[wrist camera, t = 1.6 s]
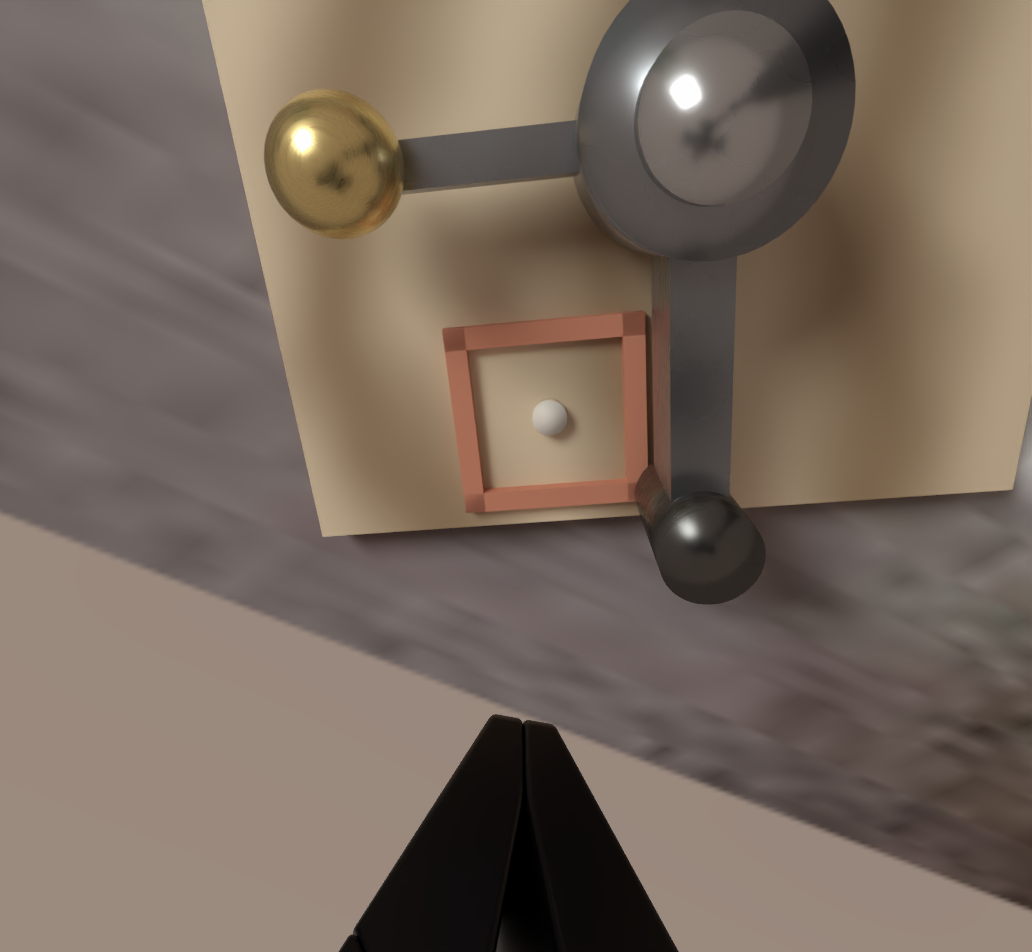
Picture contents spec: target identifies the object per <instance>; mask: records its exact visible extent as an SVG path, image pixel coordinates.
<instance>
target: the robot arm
mask: <svg viewBox="0 0 1032 952" xmlns="http://www.w3.org/2000/svg"><path fill="white" fill-rule="evenodd" d="M339 952H678V950H677V948H676V946H675V944H674V943H673V941H672V939H671V937H670V935H669V933H668V932H667V930H666V928H665V926H664V924H663V922H662V921H661V919H660V917H659V915H658V913H657V912H656V910H655V908H654V906H653V904H652V902H651V900H650V899H649V897H648V895H647V893H646V891H645V890H644V888H643V886H642V884H641V882H640V880H639V879H638V877H637V875H636V873H635V871H634V870H633V868H632V866H631V864H630V862H629V860H628V858H627V857H626V855H625V853H624V851H623V849H622V847H621V846H620V844H619V842H618V840H617V838H616V836H615V835H614V833H613V831H612V829H611V827H610V825H609V824H608V822H607V820H606V818H605V816H604V815H603V813H602V811H601V809H600V807H599V805H598V804H597V802H596V800H595V798H594V796H593V794H592V793H591V791H590V789H589V787H588V785H587V784H586V782H585V780H584V778H583V776H582V774H581V773H580V771H579V769H578V767H577V765H576V763H575V762H574V760H573V758H572V756H571V754H570V752H569V751H568V749H567V747H566V745H565V743H564V741H563V740H562V738H561V736H560V734H559V732H558V730H557V729H556V727H555V726H553V725H552V724H548V723H542V722H537V721H531V720H526V721H525V722H524V723H523V724H522V721H521V720H520V719H519V718H514V717H508V716H503V715H497V714H495V715H492V716H491V717H490V718H489V719H488V721H487V723H486V724H485V726H484V727H483V729H482V730H481V732H480V733H479V735H478V737H477V738H476V740H475V741H474V743H473V744H472V746H471V748H470V749H469V751H468V752H467V754H466V755H465V757H464V758H463V760H462V761H461V763H460V765H459V766H458V768H457V769H456V771H455V772H454V774H453V775H452V777H451V779H450V780H449V782H448V783H447V785H446V786H445V788H444V789H443V791H442V793H441V794H440V796H439V797H438V799H437V800H436V802H435V803H434V805H433V807H432V808H431V810H430V811H429V813H428V814H427V816H426V817H425V819H424V821H423V822H422V824H421V825H420V827H419V828H418V830H417V831H416V833H415V835H414V836H413V838H412V839H411V841H410V842H409V844H408V845H407V847H406V849H405V850H404V852H403V853H402V855H401V856H400V858H399V859H398V861H397V863H396V864H395V866H394V867H393V869H392V870H391V872H390V873H389V875H388V877H387V878H386V880H385V881H384V883H383V885H382V886H381V887H380V889H379V891H378V892H377V894H376V896H375V897H374V898H373V900H372V901H371V903H370V905H369V906H368V908H367V909H366V911H365V912H364V914H363V915H362V917H361V919H360V920H359V922H358V923H357V925H356V926H355V928H354V931H353V935H350V936H349V937H348V938H347V940H346V941H345V943H344V944H343V946H342V947H341V949H340V951H339Z"/></svg>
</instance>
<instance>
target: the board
mask: <svg viewBox="0 0 1032 952" xmlns="http://www.w3.org/2000/svg"><path fill="white" fill-rule="evenodd" d="M828 1H829V2H830V3H831V5H832V6H833V7H834V9H835V11H836V13H837V15H838V17H839V19H840V20H841V22H842V24H843V27H844V30H845V32H846V35H847V38H848V40H849V43H850V48H851V52H852V57H853V61H854V70H855V80H856V91H855V108H854V115H853V122H852V126H851V130H850V134H849V138H848V142H847V145H846V147H845V150H844V153H843V155H842V158H841V160H840V163H839V165H838V167H837V169H836V171H835V173H834V175H833V177H832V179H831V180H830V182H829V184H828V185H827V187H826V188H825V190H824V191H823V193H822V194H821V196H820V197H819V198H818V200H817V201H816V202H815V203H814V204H813V206H812V207H811V208H810V209H809V210H808V212H807V213H806V214H805V215H804V216H803V217H802V218H800V219H799V220H798V221H797V222H796V223H795V224H794V225H793V226H792V227H791V228H789V229H788V230H787V231H785V232H784V233H783V234H781V235H780V236H779V237H777V238H776V239H774V240H772V241H771V242H769V243H767V244H766V245H764V246H762V247H760V248H758V249H755V250H753V251H751V252H748V253H746V254H743V255H739V256H737V274H736V306H735V339H734V371H733V403H732V435H731V467H730V494H731V495H732V497H733V498H734V499H735V501H736V502H737V503H738V505H739V506H740V507H741V508H752V507H767V506H781V505H796V504H811V503H825V502H840V501H855V500H869V499H884V498H899V497H913V496H928V495H943V494H957V493H972V492H986V491H1001V490H1013V485H1014V480H1015V475H1016V470H1017V465H1018V460H1019V456H1020V451H1021V446H1022V441H1023V436H1024V431H1025V426H1026V421H1027V416H1028V412H1029V407H1030V402H1031V397H1032V0H828ZM202 2H203V6H204V11H205V15H206V20H207V24H208V28H209V33H210V37H211V42H212V46H213V51H214V55H215V60H216V64H217V69H218V73H219V77H220V82H221V86H222V91H223V95H224V100H225V104H226V109H227V113H228V117H229V122H230V126H231V131H232V135H233V140H234V144H235V149H236V153H237V158H238V162H239V166H240V171H241V175H242V180H243V184H244V189H245V193H246V198H247V202H248V206H249V211H250V215H251V220H252V224H253V229H254V233H255V238H256V242H257V247H258V251H259V255H260V260H261V264H262V269H263V273H264V278H265V282H266V287H267V291H268V295H269V300H270V304H271V309H272V313H273V318H274V322H275V327H276V331H277V336H278V340H279V344H280V349H281V353H282V358H283V362H284V367H285V371H286V376H287V380H288V384H289V389H290V393H291V398H292V402H293V407H294V411H295V416H296V420H297V425H298V429H299V433H300V438H301V442H302V447H303V451H304V456H305V460H306V465H307V469H308V473H309V478H310V482H311V487H312V491H313V496H314V500H315V505H316V509H317V514H318V518H319V522H320V527H321V531H322V536H323V537H327V536H342V535H357V534H371V533H386V532H401V531H415V530H430V529H445V528H459V527H474V526H489V525H503V524H518V523H532V522H547V521H562V520H576V519H591V518H606V517H620V516H635V515H640V514H639V511H638V508H637V505H636V501H633V502H619V503H605V504H590V505H576V506H562V507H548V508H533V509H519V510H505V511H490V512H476V513H466V508H465V501H464V493H463V486H462V478H461V471H460V463H459V455H458V448H457V440H456V433H455V425H454V418H453V410H452V403H451V395H450V387H449V380H448V372H447V365H446V357H445V350H444V342H443V335H442V329H444V328H450V327H461V326H472V325H483V324H494V323H505V322H517V321H528V320H539V319H550V318H561V317H572V316H583V315H594V314H605V313H616V312H627V311H639V310H643V311H645V343H646V396H647V449H648V466H649V465H650V464H651V463H653V462H654V428H653V362H652V296H651V255H647V254H643V253H639V252H636V251H633V250H631V249H628V248H626V247H624V246H622V245H620V244H619V243H617V242H615V241H614V240H612V239H611V238H610V237H609V236H607V235H606V234H605V233H604V232H603V231H602V230H601V229H600V228H599V227H598V226H597V225H596V224H595V223H594V221H593V220H592V219H591V217H590V216H589V214H588V213H587V212H586V210H585V208H584V206H583V204H582V202H581V200H580V198H579V195H578V192H577V190H576V187H575V183H574V179H573V177H566V178H557V179H547V180H538V181H528V182H519V183H509V184H500V185H490V186H481V187H471V188H462V189H452V190H443V191H433V192H424V193H414V194H405V195H401V198H400V201H399V203H398V205H397V207H396V209H395V210H394V212H393V214H392V215H391V216H390V218H389V219H388V220H387V221H386V222H385V223H384V224H383V225H382V226H381V227H379V228H378V229H377V230H375V231H373V232H371V233H369V234H367V235H365V236H362V237H359V238H354V239H342V240H340V239H332V238H327V237H324V236H320V235H318V234H315V233H313V232H311V231H309V230H307V229H305V228H304V227H303V226H301V225H300V224H298V223H297V222H296V221H295V220H293V219H292V218H291V217H290V216H289V215H288V214H287V213H286V211H285V210H284V209H283V208H282V207H281V205H280V204H279V202H278V201H277V199H276V197H275V195H274V193H273V191H272V189H271V187H270V184H269V182H268V179H267V175H266V171H265V165H264V144H265V139H266V134H267V131H268V129H269V126H270V124H271V122H272V120H273V118H274V116H275V115H276V114H277V112H278V111H279V110H280V109H281V107H282V106H283V105H284V104H286V103H287V102H288V101H289V100H291V99H292V98H293V97H295V96H297V95H299V94H301V93H304V92H306V91H309V90H314V89H338V90H342V91H346V92H349V93H351V94H353V95H356V96H358V97H360V98H361V99H363V100H365V101H366V102H368V103H369V104H370V105H372V106H373V107H374V108H375V109H376V110H377V111H378V112H379V113H380V114H381V115H382V116H383V117H384V118H385V120H386V121H387V122H388V123H389V125H390V126H391V128H392V130H393V131H394V133H395V135H396V137H397V139H398V140H402V139H411V138H420V137H429V136H438V135H447V134H456V133H465V132H474V131H482V130H491V129H500V128H509V127H518V126H527V125H536V124H545V123H554V122H563V121H572V120H575V116H576V112H577V109H578V105H579V102H580V98H581V95H582V91H583V88H584V85H585V81H586V78H587V74H588V71H589V68H590V66H591V63H592V60H593V57H594V55H595V52H596V50H597V48H598V46H599V44H600V42H601V40H602V38H603V36H604V34H605V33H606V31H607V30H608V28H609V27H610V25H611V24H612V22H613V21H614V19H615V17H616V16H617V15H618V14H619V12H620V11H621V10H622V9H623V8H624V6H625V5H626V4H627V3H628V2H629V0H202ZM468 353H469V362H470V370H471V378H472V387H473V395H474V404H475V412H476V420H477V429H478V437H479V446H480V454H481V462H482V471H483V479H484V488H485V489H486V488H500V487H514V486H528V485H542V484H555V483H569V482H583V481H597V480H611V479H624V478H626V465H625V434H624V404H623V373H622V342H621V337H610V338H599V339H588V340H576V341H565V342H553V343H542V344H531V345H519V346H508V347H496V348H485V349H473V350H468ZM544 399H555V400H558V401H559V402H561V403H562V404H563V405H564V407H565V409H566V412H567V424H566V426H565V428H564V429H563V430H562V431H561V432H560V433H558V434H556V435H552V436H547V435H543V434H541V433H539V432H538V431H537V430H536V429H535V427H534V425H533V422H532V414H533V410H534V407H535V406H536V404H537V403H539V402H540V401H542V400H544Z"/></svg>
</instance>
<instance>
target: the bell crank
mask: <svg viewBox="0 0 1032 952" xmlns="http://www.w3.org/2000/svg"><path fill="white" fill-rule="evenodd" d="M855 91H856V80H855V70H854V61H853V57H852V52H851V48H850V43H849V40H848V38H847V35H846V32H845V30H844V27H843V24H842V22H841V20H840V19H839V17H838V15H837V13H836V11H835V9H834V7H833V6H832V5H831V3H830V2H829V1H828V0H629V2H628V3H627V4H626V5H625V6H624V8H623V9H622V10H621V11H620V12H619V14H618V15H617V16H616V17H615V19H614V21H613V22H612V24H611V25H610V27H609V28H608V30H607V31H606V33H605V34H604V36H603V38H602V40H601V42H600V44H599V46H598V48H597V50H596V52H595V55H594V57H593V60H592V63H591V66H590V68H589V71H588V74H587V78H586V81H585V85H584V88H583V91H582V95H581V98H580V102H579V105H578V109H577V112H576V116H575V120H572V121H563V122H554V123H545V124H536V125H527V126H518V127H509V128H500V129H491V130H482V131H474V132H465V133H456V134H447V135H438V136H429V137H420V138H411V139H402V140H398V139H397V137H396V135H395V133H394V131H393V130H392V128H391V126H390V125H389V123H388V122H387V121H386V120H385V118H384V117H383V116H382V115H381V114H380V113H379V112H378V111H377V110H376V109H375V108H374V107H373V106H372V105H370V104H369V103H368V102H366V101H365V100H363V99H361V98H360V97H358V96H356V95H353V94H351V93H349V92H346V91H342V90H338V89H314V90H309V91H306V92H304V93H301V94H299V95H297V96H295V97H293V98H292V99H291V100H289V101H288V102H287V103H286V104H284V105H283V106H282V107H281V109H280V110H279V111H278V112H277V114H276V115H275V116H274V118H273V120H272V122H271V124H270V126H269V129H268V131H267V134H266V139H265V144H264V165H265V171H266V175H267V179H268V182H269V184H270V187H271V189H272V191H273V193H274V195H275V197H276V199H277V201H278V202H279V204H280V205H281V207H282V208H283V209H284V210H285V211H286V213H287V214H288V215H289V216H290V217H291V218H292V219H293V220H295V221H296V222H297V223H298V224H300V225H301V226H303V227H304V228H305V229H307V230H309V231H311V232H313V233H315V234H318V235H320V236H324V237H327V238H332V239H340V240H342V239H354V238H359V237H362V236H365V235H367V234H369V233H371V232H373V231H375V230H377V229H378V228H379V227H381V226H382V225H383V224H384V223H385V222H386V221H387V220H388V219H389V218H390V216H391V215H392V214H393V212H394V210H395V209H396V207H397V205H398V203H399V201H400V198H401V195H405V194H414V193H424V192H433V191H443V190H452V189H462V188H471V187H481V186H490V185H500V184H509V183H519V182H528V181H538V180H547V179H557V178H566V177H573V179H574V183H575V187H576V190H577V192H578V195H579V198H580V200H581V202H582V204H583V206H584V208H585V210H586V212H587V213H588V214H589V216H590V217H591V219H592V220H593V221H594V223H595V224H596V225H597V226H598V227H599V228H600V229H601V230H602V231H603V232H604V233H605V234H606V235H607V236H609V237H610V238H611V239H612V240H614V241H615V242H617V243H619V244H620V245H622V246H624V247H626V248H628V249H631V250H633V251H636V252H639V253H643V254H647V255H651V296H652V362H653V428H654V462H653V463H651V464H650V465H649V466H648V467H647V468H646V469H645V470H644V471H643V473H642V474H641V476H640V477H639V479H638V482H637V485H636V489H635V501H636V505H637V508H638V511H639V514H640V517H641V519H642V522H643V525H644V528H645V531H646V533H647V536H648V539H649V542H650V544H651V547H652V550H653V553H654V556H655V558H656V561H657V564H658V567H659V570H660V572H661V575H662V578H663V580H664V582H665V583H666V585H667V586H668V587H669V589H670V590H671V591H672V592H674V593H675V594H676V595H677V596H679V597H681V598H682V599H684V600H687V601H690V602H693V603H697V604H718V603H723V602H726V601H729V600H732V599H734V598H736V597H738V596H740V595H741V594H743V593H744V592H745V591H747V590H748V589H749V588H750V587H751V586H752V585H753V584H754V583H755V582H756V580H757V579H758V577H759V576H760V574H761V572H762V569H763V566H764V563H765V545H764V542H763V539H762V537H761V535H760V533H759V532H758V530H757V529H756V528H755V526H754V525H753V524H752V522H751V521H750V520H749V518H748V517H747V516H746V514H745V513H744V511H743V510H742V509H741V507H740V506H739V505H738V503H737V502H736V501H735V499H734V498H733V497H732V495H731V494H730V467H731V435H732V403H733V371H734V339H735V306H736V274H737V256H739V255H743V254H746V253H748V252H751V251H753V250H755V249H758V248H760V247H762V246H764V245H766V244H767V243H769V242H771V241H772V240H774V239H776V238H777V237H779V236H780V235H781V234H783V233H784V232H785V231H787V230H788V229H789V228H791V227H792V226H793V225H794V224H795V223H796V222H797V221H798V220H799V219H800V218H802V217H803V216H804V215H805V214H806V213H807V212H808V210H809V209H810V208H811V207H812V206H813V204H814V203H815V202H816V201H817V200H818V198H819V197H820V196H821V194H822V193H823V191H824V190H825V188H826V187H827V185H828V184H829V182H830V180H831V179H832V177H833V175H834V173H835V171H836V169H837V167H838V165H839V163H840V160H841V158H842V155H843V153H844V150H845V147H846V145H847V142H848V138H849V134H850V130H851V126H852V122H853V115H854V108H855Z"/></svg>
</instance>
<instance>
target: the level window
mask: <svg viewBox="0 0 1032 952" xmlns="http://www.w3.org/2000/svg"><path fill="white" fill-rule="evenodd" d="M442 335H443V342H444V350H445V357H446V365H447V372H448V380H449V387H450V395H451V403H452V410H453V418H454V425H455V433H456V440H457V448H458V455H459V463H460V471H461V478H462V486H463V493H464V501H465V508H466V513H476V512H490V511H505V510H519V509H533V508H548V507H562V506H576V505H590V504H605V503H619V502H633V501H635V489H636V485H637V482H638V479H639V477H640V476H641V474H642V473H643V471H644V470H645V469H646V468H647V467H648V449H647V396H646V343H645V311H643V310H639V311H627V312H616V313H605V314H594V315H583V316H572V317H561V318H550V319H539V320H528V321H517V322H505V323H494V324H483V325H472V326H461V327H450V328H444V329H442ZM610 337H621V342H622V373H623V404H624V434H625V465H626V478H624V479H611V480H597V481H583V482H569V483H555V484H542V485H528V486H514V487H500V488H486V489H485V488H484V479H483V471H482V462H481V454H480V446H479V437H478V429H477V420H476V412H475V404H474V395H473V387H472V378H471V370H470V362H469V353H468V350H473V349H485V348H496V347H508V346H519V345H531V344H542V343H553V342H565V341H576V340H588V339H599V338H610ZM532 422H533V425H534V427H535V429H536V430H537V431H538V432H539V433H541V434H543V435H547V436H552V435H556V434H558V433H560V432H561V431H562V430H563V429H564V428H565V426H566V424H567V412H566V409H565V407H564V405H563V404H562V403H561V402H559V401H558V400H555V399H544V400H542V401H540V402H539V403H537V404H536V406H535V407H534V410H533V414H532Z"/></svg>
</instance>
